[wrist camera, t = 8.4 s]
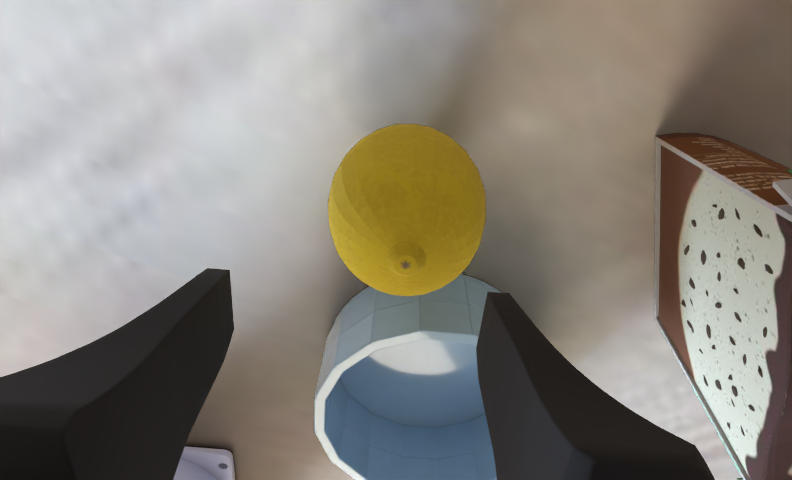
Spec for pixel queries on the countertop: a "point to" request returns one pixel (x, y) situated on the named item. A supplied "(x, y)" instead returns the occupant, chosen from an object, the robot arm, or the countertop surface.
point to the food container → (728, 291)
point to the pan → (406, 386)
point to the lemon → (407, 210)
